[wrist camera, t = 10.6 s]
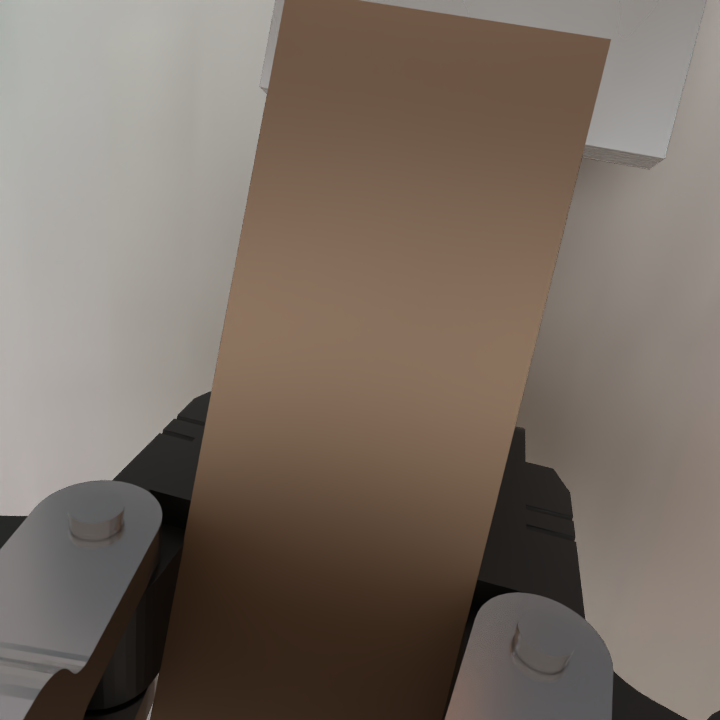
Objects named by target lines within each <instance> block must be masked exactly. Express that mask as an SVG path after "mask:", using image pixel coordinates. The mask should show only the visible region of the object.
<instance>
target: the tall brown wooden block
mask: <svg viewBox="0 0 720 720" xmlns="http://www.w3.org/2000/svg"><path fill="white" fill-rule="evenodd" d="M705 4H706V0H275V5H274V10H273V16H272V21H271V27H270V32H269V37H268V43H267V48H266V54H265V59H264V64H263V70H262V75H261V81H260V86H259V87H260V88H261V89H262V90H263V91H264V92H265V93H266V94H267V97H266V102H265V108H264V113H263V118H262V124H261V129H260V134H259V140H258V145H257V150H256V156H255V161H254V166H253V172H252V177H251V183H250V188H249V193H248V199H247V204H246V209H245V215H244V220H243V225H242V231H241V236H240V241H239V247H238V252H237V257H236V263H235V268H234V274H233V279H232V284H231V290H230V295H229V300H228V306H227V311H226V316H225V322H224V327H223V332H222V338H221V343H220V348H219V354H218V359H217V364H216V370H215V375H214V381H213V386H212V391H211V397H210V402H209V407H208V413H207V418H206V423H205V429H204V434H203V439H202V445H201V450H200V455H199V461H198V466H197V471H196V477H195V482H194V488H193V493H192V498H191V504H190V509H189V514H188V520H187V525H186V530H185V536H184V541H183V542H184V546H183V551H182V557H181V562H180V567H179V573H178V578H177V583H176V589H175V594H174V599H173V605H172V610H171V615H170V621H169V626H168V631H167V637H166V642H165V647H164V653H163V658H162V663H161V669H160V671H159V675H158V680H157V686H156V691H155V696H154V702H153V707H152V712H151V718H150V720H442V717H443V713H444V709H445V705H446V701H447V697H448V693H449V689H450V685H451V681H452V677H453V673H454V669H455V665H456V661H457V657H458V653H459V649H460V645H461V641H462V637H463V633H464V629H465V625H466V623H467V619H468V615H469V610H470V606H471V602H472V598H473V594H474V590H475V586H476V582H477V578H478V574H479V570H480V566H481V562H482V558H483V554H484V550H485V546H486V542H487V538H488V534H489V530H490V526H491V522H492V518H493V514H494V510H495V506H496V502H497V498H498V494H499V490H500V486H501V482H502V477H503V473H504V469H505V465H506V461H507V457H508V453H509V449H510V445H511V441H512V437H513V433H514V429H515V425H516V421H517V417H518V413H519V409H520V405H521V401H522V397H523V393H524V389H525V385H526V381H527V377H528V373H529V369H530V365H531V361H532V357H533V353H534V349H535V345H536V340H537V336H538V332H539V328H540V324H541V320H542V316H543V312H544V308H545V304H546V300H547V296H548V292H549V288H550V284H551V280H552V276H553V272H554V268H555V264H556V260H557V256H558V252H559V248H560V244H561V240H562V236H563V232H564V228H565V224H566V220H567V216H568V212H569V208H570V203H571V199H572V195H573V191H574V187H575V183H576V179H577V175H578V171H579V167H580V163H581V159H582V157H583V158H588V159H594V160H599V161H605V162H611V163H616V164H622V165H627V166H633V167H638V168H644V169H651V168H652V167H654V166H655V165H656V164H658V163H659V162H661V161H662V160H663V159H665V156H666V152H667V148H668V144H669V140H670V137H671V133H672V129H673V125H674V121H675V118H676V114H677V110H678V106H679V102H680V99H681V95H682V91H683V87H684V83H685V80H686V76H687V72H688V68H689V65H690V61H691V57H692V53H693V49H694V46H695V42H696V38H697V34H698V30H699V27H700V23H701V19H702V15H703V11H704V8H705Z"/></svg>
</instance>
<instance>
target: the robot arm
mask: <svg viewBox="0 0 720 720" xmlns="http://www.w3.org/2000/svg"><path fill="white" fill-rule="evenodd" d="M210 397H211V392H208V393H206V394H204V395H201V396H199V397H196V398H194V399H193V400H192V401H191V402H190V403H189V404H188V405H187V406H186V407H185V408H184V409H183V410H182V411H181V412H180V413H179V414H178V416H177V419H173V420H172V421H171V422H170V423H169V424H168V425H167V426H166V427H165V428H164V429H163V433H162V434H161V433H159V434H158V435H157V436H156V437H155V438H154V439H153V440H152V441H151V442H150V443H149V444H148V445H147V446H146V447H145V448H144V449H143V450H142V451H141V452H140V453H139V454H138V455H137V456H136V457H135V458H134V459H133V460H132V461H131V462H130V463H129V464H128V465H127V466H126V467H125V468H124V469H123V470H122V471H121V472H120V473H119V474H118V475H117V476H116V477H115V478H114V479H113V480H112V481H110V480H100V481H89V482H84V483H79V484H75V485H72V486H68V487H66V488H64V489H61V490H59V491H57V492H55V493H53V494H51V495H49V496H48V497H47V498H45V499H44V500H43V501H41V502H40V503H39V504H38V505H37V506H36V507H35V508H34V510H33V511H32V512H31V513H30V514H29V516H0V720H146V719H147V716H148V714H149V711H150V709H151V706H152V704H153V701H154V696H155V691H156V686H157V680H158V673H159V671H160V669H161V663H162V658H163V653H164V647H165V642H166V637H167V631H168V626H169V621H170V615H171V610H172V605H173V599H174V594H175V589H176V583H177V578H178V573H179V567H180V562H181V557H182V551H183V546H184V542H183V541H184V536H185V530H186V525H187V520H188V514H189V509H190V504H191V498H192V493H193V488H194V482H195V477H196V471H197V466H198V461H199V455H200V450H201V445H202V439H203V434H204V429H205V423H206V418H207V413H208V407H209V402H210ZM572 518H573V513H572V505H571V497H570V492H569V490H568V489H567V488H566V486H565V485H564V483H563V482H562V481H561V479H560V478H559V476H558V475H557V473H556V472H555V471H554V469H552V468H548V467H544V466H540V465H536V464H531V463H527V462H525V429H524V428H520V427H516V426H515V429H514V433H513V437H512V441H511V445H510V449H509V453H508V457H507V461H506V465H505V469H504V473H503V477H502V482H501V486H500V490H499V494H498V498H497V502H496V506H495V510H494V514H493V518H492V522H491V526H490V530H489V534H488V538H487V542H486V546H485V550H484V554H483V558H482V562H481V566H480V570H479V574H478V578H477V582H476V586H475V590H474V594H473V598H472V602H471V606H470V610H469V615H468V619H467V623H466V625H465V629H464V633H463V637H462V641H461V645H460V649H459V653H458V657H457V661H456V665H455V669H454V673H453V677H452V681H451V685H450V689H449V693H448V697H447V701H446V705H445V709H444V713H443V717H442V720H687V719H686V718H684V717H682V716H680V715H678V714H676V713H675V712H673V711H671V710H669V709H667V708H666V707H664V706H662V705H660V704H658V703H657V702H655V701H653V700H651V699H650V698H648V697H646V696H645V695H643V694H642V693H640V692H638V691H637V690H636V689H634V688H633V687H632V686H630V685H629V684H628V683H626V682H625V681H624V680H623V679H622V678H621V677H619V676H618V675H617V674H616V673H615V672H614V671H613V663H612V660H611V656H610V653H609V651H608V649H607V647H606V645H605V643H604V641H603V640H602V638H601V637H600V635H599V634H598V633H597V632H596V631H595V629H594V628H593V627H592V626H591V625H590V624H589V623H588V622H587V621H586V620H585V614H584V606H583V597H582V589H581V580H580V572H579V564H578V555H577V547H576V542H574V540H575V530H574V522H573V521H572ZM707 720H720V711H718V712H716V713H714V714H712V715H711V716H710V717H709V718H708V719H707Z"/></svg>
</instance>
